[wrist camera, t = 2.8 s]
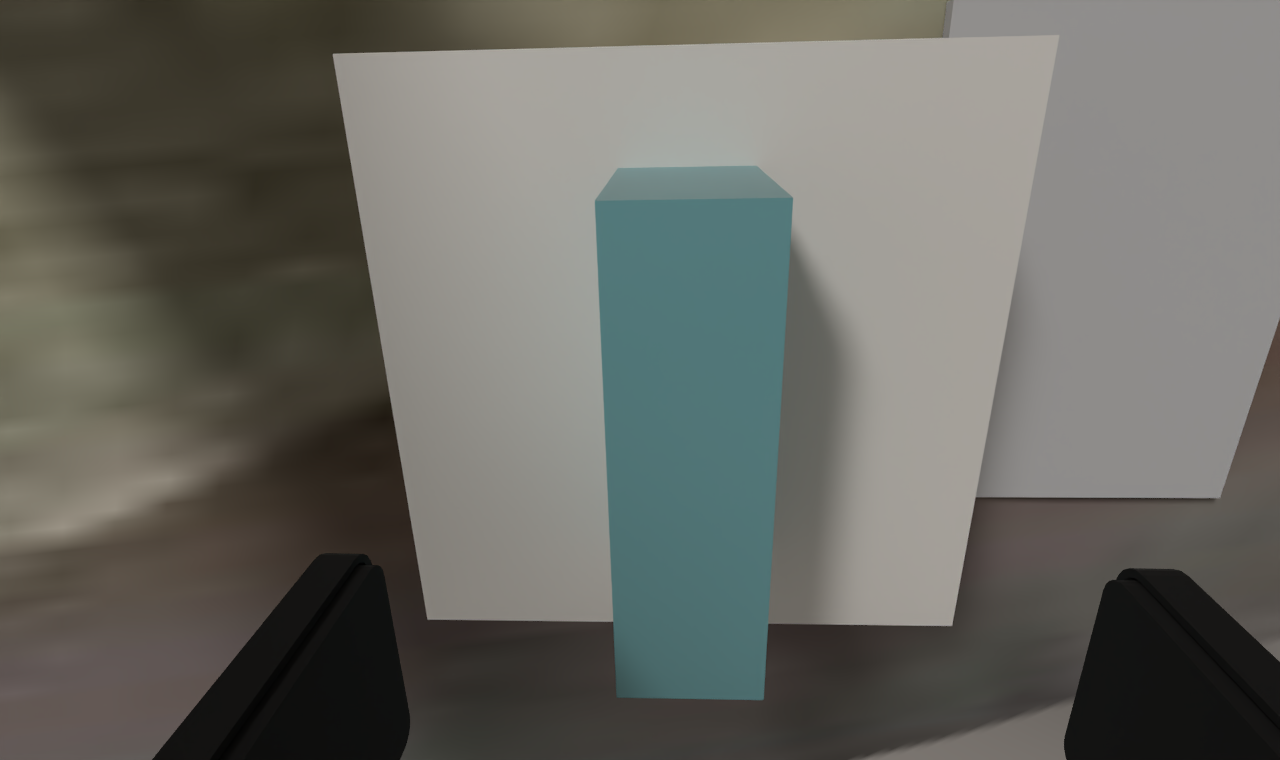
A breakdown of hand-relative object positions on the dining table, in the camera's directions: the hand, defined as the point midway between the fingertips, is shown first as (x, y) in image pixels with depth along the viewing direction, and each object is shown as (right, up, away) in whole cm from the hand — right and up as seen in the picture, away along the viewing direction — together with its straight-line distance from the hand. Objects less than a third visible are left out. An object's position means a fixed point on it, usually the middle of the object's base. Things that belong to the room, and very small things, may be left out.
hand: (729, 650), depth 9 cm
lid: (0, +4, +10) cm, 11 cm away
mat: (+15, +7, +16) cm, 24 cm away
